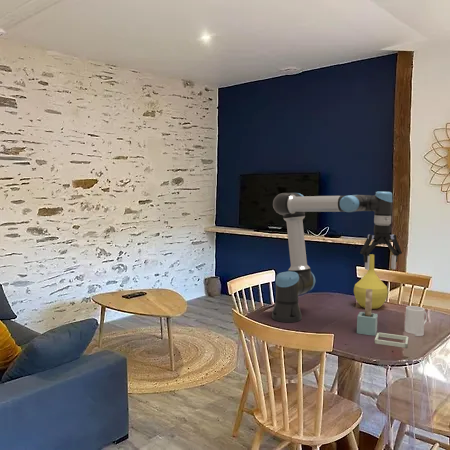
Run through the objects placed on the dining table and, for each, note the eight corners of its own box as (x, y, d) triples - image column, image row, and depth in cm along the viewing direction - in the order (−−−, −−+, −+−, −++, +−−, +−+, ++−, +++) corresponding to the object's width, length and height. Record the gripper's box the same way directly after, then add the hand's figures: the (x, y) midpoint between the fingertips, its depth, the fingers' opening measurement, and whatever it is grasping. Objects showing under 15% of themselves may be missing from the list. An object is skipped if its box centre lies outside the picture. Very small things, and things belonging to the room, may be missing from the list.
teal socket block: (356, 335, 211) (357, 316, 210) (359, 330, 218) (359, 311, 217) (374, 337, 207) (375, 318, 207) (376, 332, 215) (377, 313, 214)
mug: (420, 329, 221) (422, 304, 220) (434, 334, 213) (435, 309, 211) (400, 331, 217) (401, 306, 216) (412, 337, 209) (414, 311, 208)
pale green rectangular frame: (374, 345, 197) (374, 339, 197) (377, 337, 207) (377, 332, 207) (406, 350, 192) (407, 344, 192) (408, 342, 202) (408, 336, 202)
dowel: (364, 332, 212) (365, 289, 210) (364, 330, 214) (366, 288, 212) (370, 333, 210) (371, 290, 209) (371, 331, 213) (372, 289, 211)
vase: (346, 303, 267) (348, 253, 264) (374, 301, 272) (375, 251, 270) (365, 312, 249) (367, 257, 247) (394, 309, 255) (396, 256, 252)
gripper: (361, 225, 210) (359, 271, 212) (411, 225, 214) (408, 270, 216) (354, 223, 217) (352, 268, 219) (402, 223, 222) (399, 267, 224)
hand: (380, 269), depth 218 cm, fingers open, 13 cm apart
